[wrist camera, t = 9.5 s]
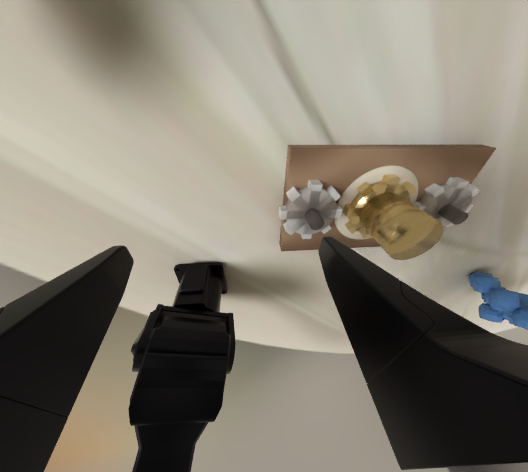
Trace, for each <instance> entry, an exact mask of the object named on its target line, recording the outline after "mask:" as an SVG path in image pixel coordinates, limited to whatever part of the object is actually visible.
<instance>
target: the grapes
mask: <svg viewBox="0 0 528 472" xmlns="http://www.w3.org/2000/svg"><path fill="white" fill-rule="evenodd" d="M469 281H470V286H472V287H473V288H474V291H478V292H481V293H482V299H484V302H486V303H487V304H486V303H482V304H481V305H480V306H479V316H480V318H482V319H485V320H488V321H492V322H500V323H501V322H502V321H503V320H504V319H506V320H509V323H511V324H514V325H515V326H519V327H522V328H525V329H527V330H528V295H526V294H521V293H518V292H513V291H509V290H506V289H505V288H504V287H501V284H500V281H498V278H494V277H492V275H491V274H486V273H472V274H471V275H470V278H469Z"/></svg>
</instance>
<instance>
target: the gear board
mask: <svg viewBox="0 0 528 472" xmlns="http://www.w3.org/2000/svg"><path fill="white" fill-rule="evenodd" d="M495 149H496V148H493V147H489V146H484V145H288V153H287V164H286V175H285V187H284V198H283V205H279V216H280V220H282V221H281V233H280V247H281V251H296V250H316V249H319V247H320V243H321V239H322V237H326V236H331V237H333V238H335V239H336V240H338V241H339V242H341V243H342V244H344V245H346V246H347V247H349V248H357V247H377V246H381V245H380V244H379V243H378V242H377V241H376V240H375V239H374V238H373V237H372V238H363V236H362V235H361V234H360V232H358V231H356V232H355V233H353V234H352V233H351V232H350V231H349V230H348V229H347V227H346V226H345V225H344V224H346V223H347V222H348V221H349V219H348V217H346V216H345V214H344V213H343V212H342V211H343V208H344V205H345V204H351V202H352V201H353V199H354V198H355V196H356V195H357V194H358V193H359V192H358V191H357V189H356V188H358V187H359V186H360V185H362V184H363V183H364V182H366V183H368V184H369V185H371V184H373V183H376V182H379V181H382V178H383V176H384V175H386V174H394V175H396V176H398V177H399V178H400V180H399V182H398V184H400V185H401V184H403V183H404V182H406V181H407V182H409V183H411V184H413V185H414V187H415V189H416V192H415V193H413V194H412V195H410V203H412V204H413V205H415V206H416V207H418V208H420V209H421V210H423V211H424V212H426V213H427V214H429V215H430V216H432V217H433V218H435V219H436V220H438V221H439V222H441V223H442V225H443V227H444V228H446V229H447V228H449V227H451V226H453V225H454V224H455V225H456V224H460V223H462V222H463V221H465V220H466V219H467V217H468V214H467V213H469V212H470V211H471V209H472V208H473V207H474V206H475V205H474V204H472V203H471V201H472V197H474V196H475V195H477V194H479V189H478V187H477V186H475V185H472V184H471V183H472V181H473V180H474V179H475V177H476V176H477V174H478V173H479V172H480V170H481V169H482V167H483V166H484V165H485V163H486V162H487V160H488V159H489V158H490V156H491V155H492V153H493V152H494V151H495Z"/></svg>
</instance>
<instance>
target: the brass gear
mask: <svg viewBox="0 0 528 472" xmlns="http://www.w3.org/2000/svg"><path fill="white" fill-rule="evenodd" d="M399 180H400V178H399V177H398V176H396V175H394V174H386V175H384V176H383V178H382V181H379V182H376V183H373V184H371V185H369V184H368V183H366V182H364V183H363V184H362V185H360V186H359V187H358V188H356V189H357V191H358V192H359V193H358V194H357V195H356V196H355V198H354V199H353V201H352V202H351V204H345V205H344V208H343V211H342V212H343V213H344V214H345V216H346V217H348V219H349V221H348V222H347V223H346V224H344V225H345V226H346V227H347V229H348V230H349V231H350V232H351V233H352V234H353V233H355V232H356V231H358V232H360V234H361V235H362V236H363V238H372V237H373V238H374V239H375V240H376V241H377V242H378V243H379V244H380V245H381V247H382V248H383V249H384V250H385V251H386V252H387V253H388V254H389V255H390V256H391V257H392V258H394V259H397V260H406V259H410V258H414V257H416V256H419V255H421V254H423V253H424V252H426V251H427V250H429V249H430V248H431V247H433V246H434V245H435V244H436V243H437V241H438V240H439V239H440V237H441V235H442V233H443V225H442V223H441V222H439V221H438V220H436V219H435V218H433V217H432V216H430V215H429V214H427V213H426V212H424V211H423V210H421V209H420V208H418V207H416V206H415V205H413V204H412V203H410V195H412V194H413V193H415V192H416V189H415V187H414V185H413V184H411V183H409V182H407V181H406V182H404V183H403V184H401V185H400V184H398V182H399Z"/></svg>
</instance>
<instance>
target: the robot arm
mask: <svg viewBox="0 0 528 472" xmlns="http://www.w3.org/2000/svg"><path fill="white" fill-rule="evenodd" d="M319 256H320V260H321V264H322V268H323V271H324V275H325V279H326V282H327V285H328V287H329V290H330V292H331V295H332V297H333V300H334V302H335V305H336V307H337V310H338V312H339V315H340V317H341V320H342V322H343V325H344V328H345V330H346V333H347V335H348V338H349V340H350V343H351V345H352V348H353V350H354V353H355V355H356V358H357V360H358V363H359V365H360V368H361V370H362V373H363V375H364V378H365V380H366V383H368V384H367V386H368V388H369V391H370V393H371V396H372V398H373V401H374V403H375V406H376V408H377V411H378V414H379V416H380V419H381V421H382V424H383V426H384V429H385V431H386V434H387V436H388V439H389V441H390V444H391V446H392V449H393V451H394V454H395V456H396V459H397V461H398V464H399V466H400V468H401V470H408V469H427V468H444V467H446V468H447V470H448V472H528V345H524V344H520V343H516V342H513V341H510V340H507V339H505V338H502V337H499V336H497V335H495V334H493V333H490V332H489V331H487V330H485V329H483V328H481V327H479V326H478V325H476V324H474V323H472V322H470V321H469V320H467V319H465V318H463V317H461V316H460V315H458V314H456V313H454V312H453V311H451V310H449V309H447V308H445V307H444V306H442V305H440V304H438V303H437V302H435V301H433V300H431V299H430V298H428V297H426V296H425V295H423V294H421V293H420V292H418V291H416V290H415V289H413V288H412V287H410V286H408V285H407V284H405V283H404V282H402V281H399V279H397V278H396V277H394V276H393V275H391V274H389V273H388V272H386V271H385V270H383V269H382V268H380V267H379V266H377V265H375V264H374V263H372V262H371V261H369V260H368V259H366V258H364V257H363V256H361V255H360V254H358V253H357V252H355V251H353V250H352V249H350V248H349V247H347V246H346V245H344V244H342V243H341V242H339V241H338V240H336V239H335V238H333V237H331V236H326V237H322V239H321V243H320V247H319ZM132 266H133V258H132V256H131V254H130V253H129V251H128V249H127V248H126V247H125V246H113V247H111V248H109V249H107V250H105V251H104V252H102V253H100V254H98V255H96V256H94V257H93V258H91V259H89V260H87V261H85V262H84V263H82V264H80V265H78V266H76V267H75V268H73V269H71V270H69V271H67V272H65V273H64V274H62V275H60V276H58V277H56V278H55V279H53V280H51V281H49V282H47V283H45V284H44V285H42V286H40V287H38V288H36V289H35V290H33V291H31V292H29V293H27V294H26V295H24V296H22V297H20V298H18V299H16V300H15V301H13V302H11V303H9V304H7V305H6V306H5V307H2V308H0V472H44V470H45V468H46V465H47V463H48V461H49V459H50V457H51V454H52V452H53V450H54V447H55V445H56V443H57V441H58V439H59V437H60V434H61V432H62V430H63V428H64V425H65V423H66V421H67V419H68V416H69V414H70V412H71V410H72V407H73V405H74V403H75V401H76V398H77V396H78V394H79V392H80V390H81V387H82V385H83V383H84V381H85V379H86V376H87V374H88V372H89V370H90V367H91V365H92V363H93V361H94V359H95V356H96V354H97V352H98V350H99V347H100V345H101V343H102V341H103V339H104V336H105V334H106V332H107V330H108V328H109V325H110V323H111V321H112V319H113V317H114V314H115V312H116V310H117V307H118V305H119V303H120V301H121V299H122V296H123V294H124V291H125V288H126V285H127V282H128V279H129V276H130V273H131V269H132ZM178 268H179V269H178ZM174 271H175V273H176V276H177V278H178V281H179V283H180V285H179V288H178V291H177V294H176V297H175V300H174V303H173V306H172V307H171V306H163V305H161V304H158V306H157V308H156V310H154V311H153V312H151V313H150V315H149V318H148V320H147V322H146V325H145V327H144V329H143V330H142V332H141V333H140V335H139V336H138V338H137V339H136V341H135V342H134V344H133V346H132V349H131V352H132V354H133V356H134V359H133V362H134V363H133V368H132V371H133V372H139V373H138V376H137V379H136V382H135V385H134V388H133V391H132V395H131V398H130V406H129V418H130V424H131V426H135V431H136V436H137V440H138V446H139V449H138V453H137V457H136V461H135V464H134V467H133V471H132V472H190V471H191V466H192V460H193V454H194V449H195V444H196V442H197V440H198V438H199V437H200V435H201V434H202V432H203V430H204V429H205V427H206V425H207V424H208V422H213V421H215V419H216V417H217V415H218V413H219V411H220V409H221V407H222V401H223V391H224V385H225V379H226V374H229V373H230V371H231V369H232V365H233V361H234V353H235V332H234V320H233V313H220V312H219V311H220V301H221V294H225V293H227V285H226V279H225V273H224V267H223V264H222V263H203V264H185V265H176V266H175V267H174Z"/></svg>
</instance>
